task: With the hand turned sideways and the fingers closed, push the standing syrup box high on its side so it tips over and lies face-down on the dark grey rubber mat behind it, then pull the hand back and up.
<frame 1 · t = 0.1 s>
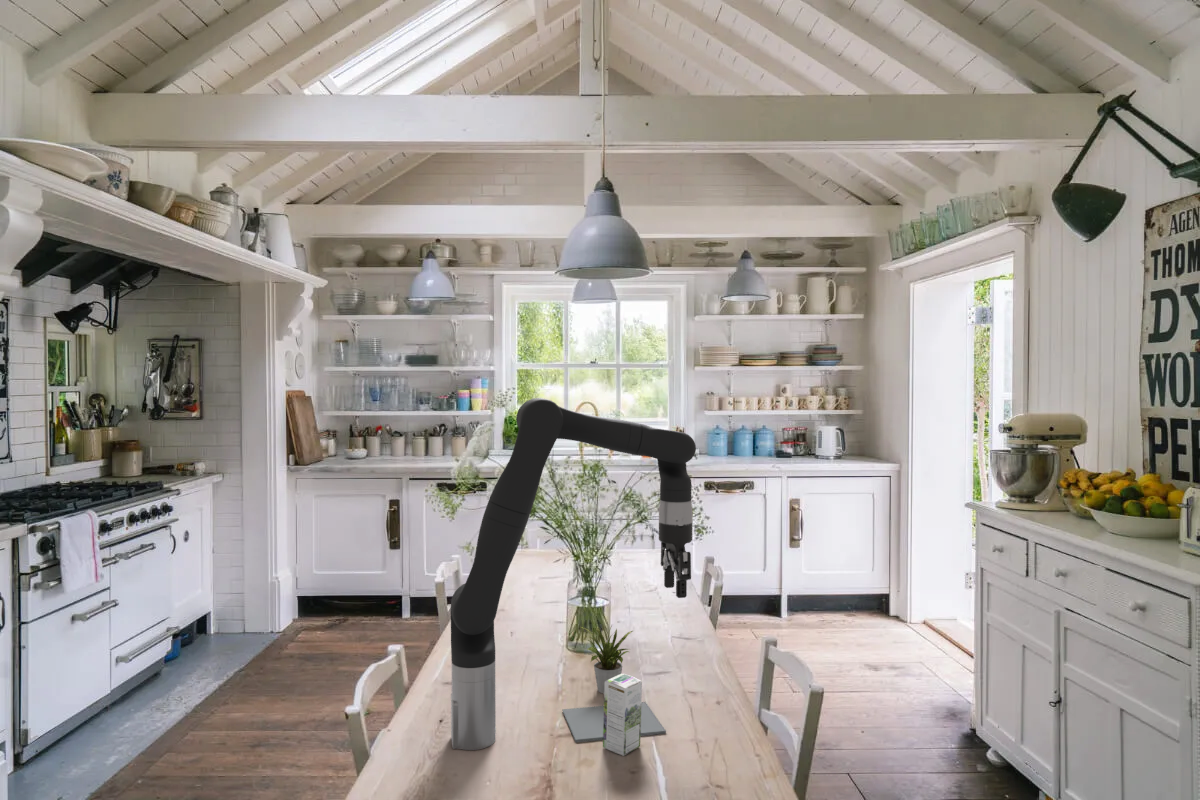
hand: (675, 592, 180), 29 cm above the table, tool pointing down, fingers open, 8 cm apart
house plant: (602, 691, 198), on the table
rubber mat: (612, 722, 180), on the table
syrup box: (622, 748, 167), on the table
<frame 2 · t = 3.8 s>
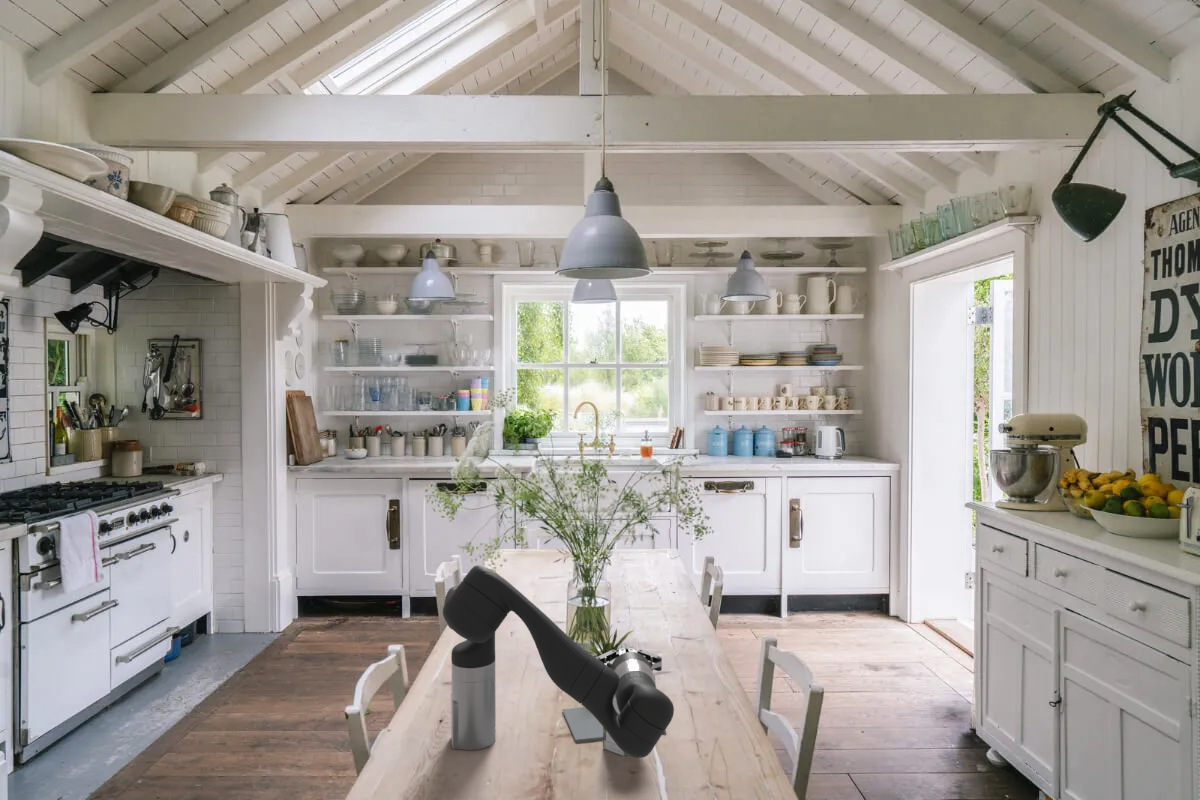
hand: (624, 648, 158), 24 cm above the table, tool horizontal, fingers closed
nothing on the table moved.
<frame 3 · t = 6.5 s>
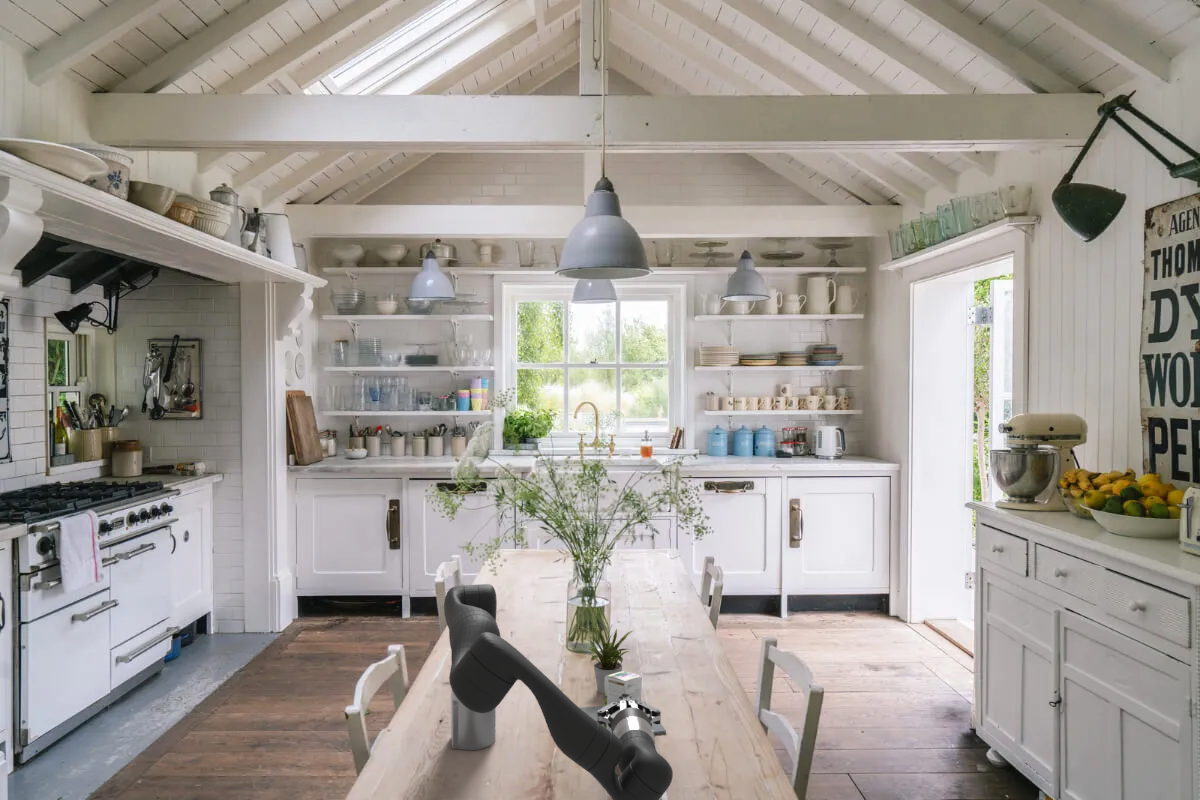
hand: (625, 698, 164), 11 cm above the table, tool horizontal, fingers closed
syrup box: (622, 747, 167), on the table, touching gripper
everything else where it was.
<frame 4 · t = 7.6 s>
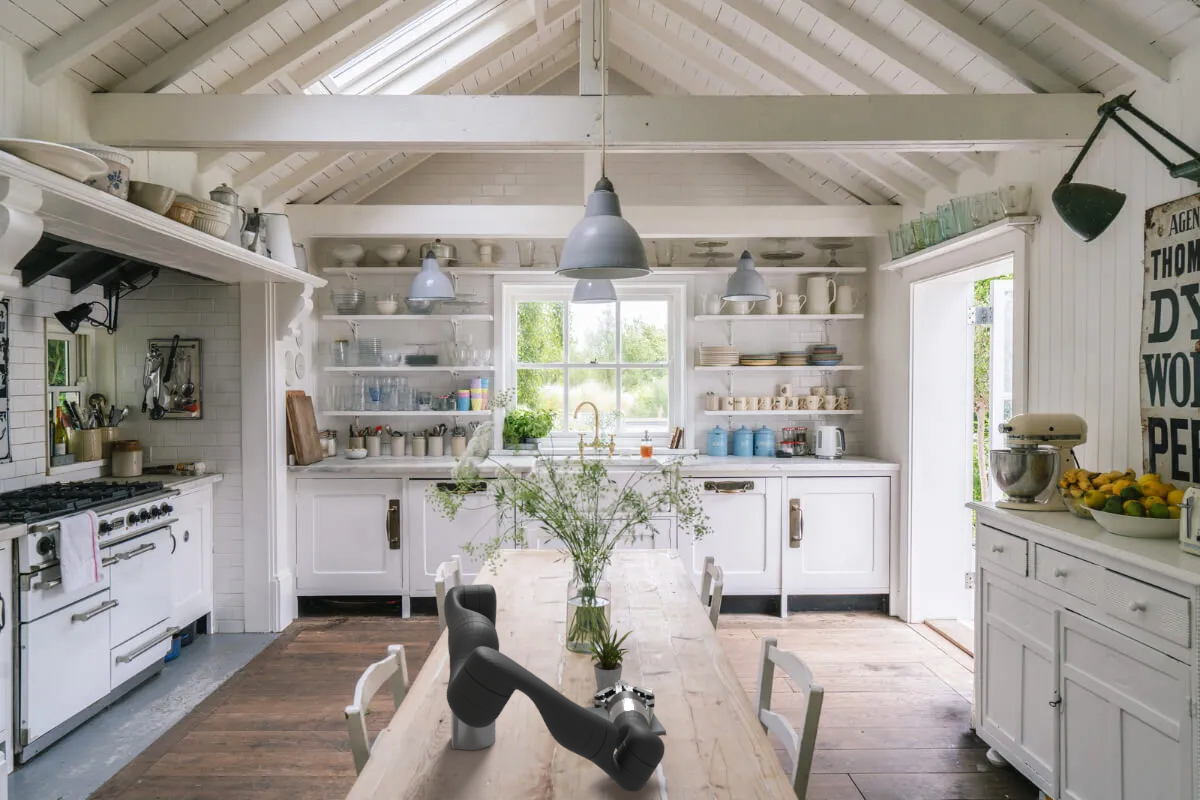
hand: (621, 684, 172), 11 cm above the table, tool horizontal, fingers closed
syrup box: (632, 726, 170), point 3 cm above the table, touching rubber mat
everything else where it was.
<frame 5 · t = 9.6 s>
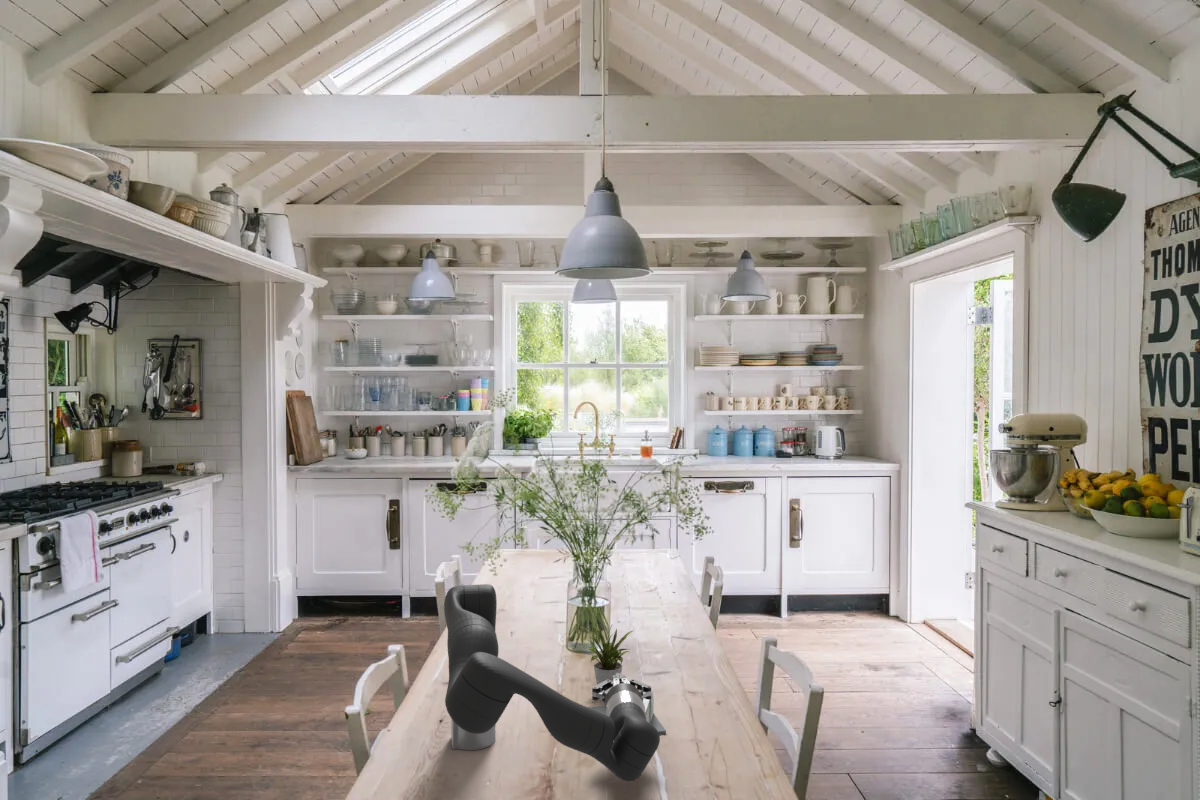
hand: (618, 677, 175), 12 cm above the table, tool horizontal, fingers closed
nothing on the table moved.
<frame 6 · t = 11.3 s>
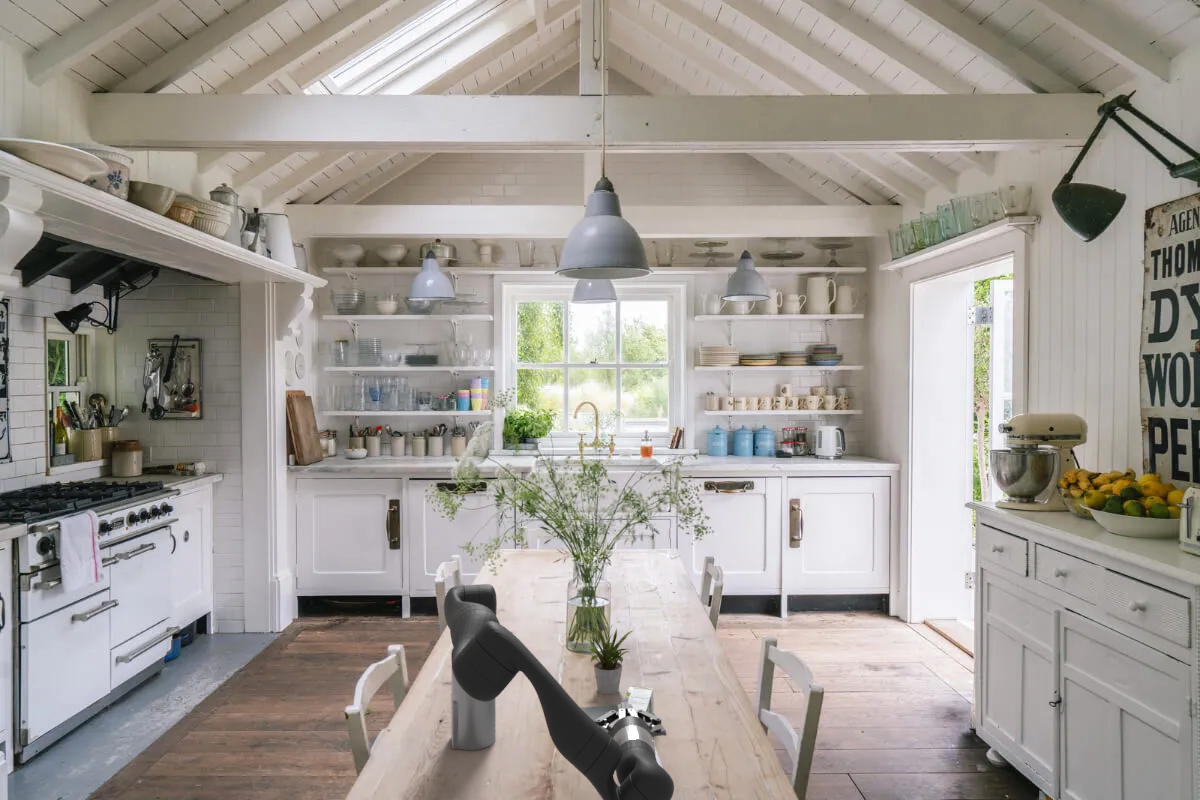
hand: (624, 706, 158), 12 cm above the table, tool horizontal, fingers closed
nothing on the table moved.
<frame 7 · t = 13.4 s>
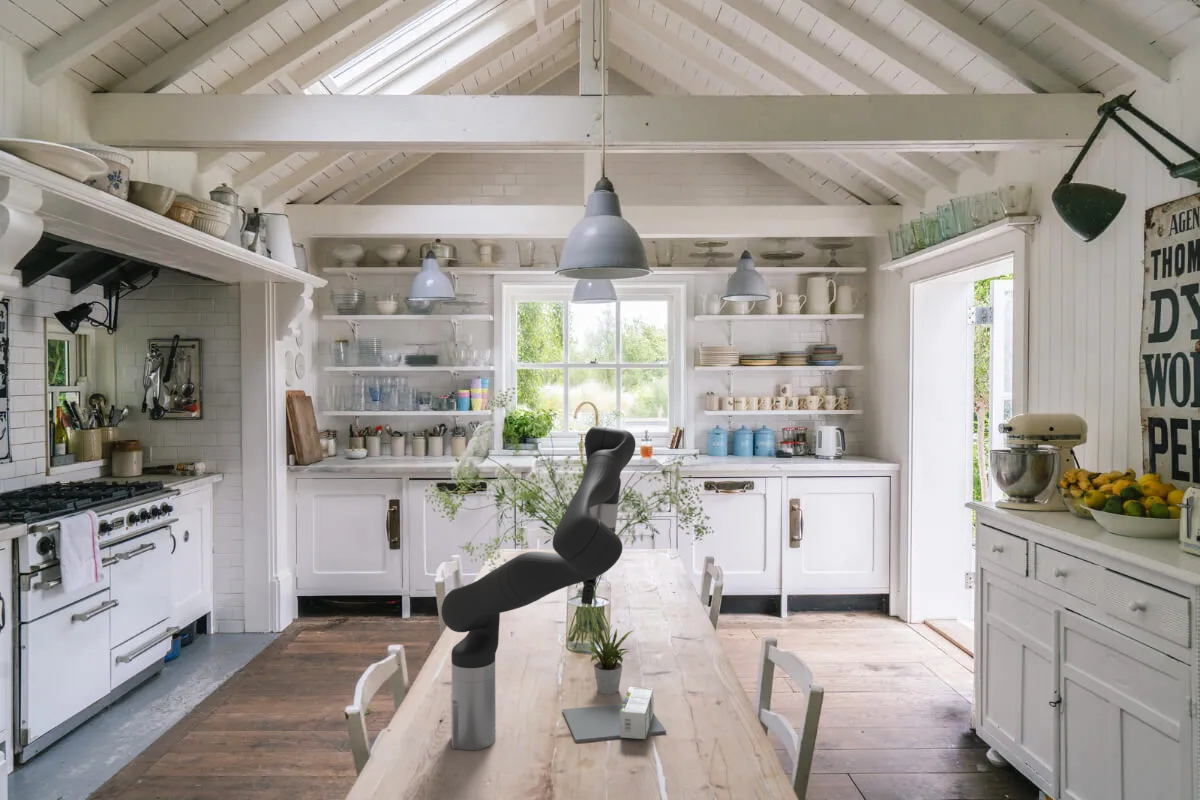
hand: (586, 602, 169), 30 cm above the table, tool pointing down, fingers closed
nothing on the table moved.
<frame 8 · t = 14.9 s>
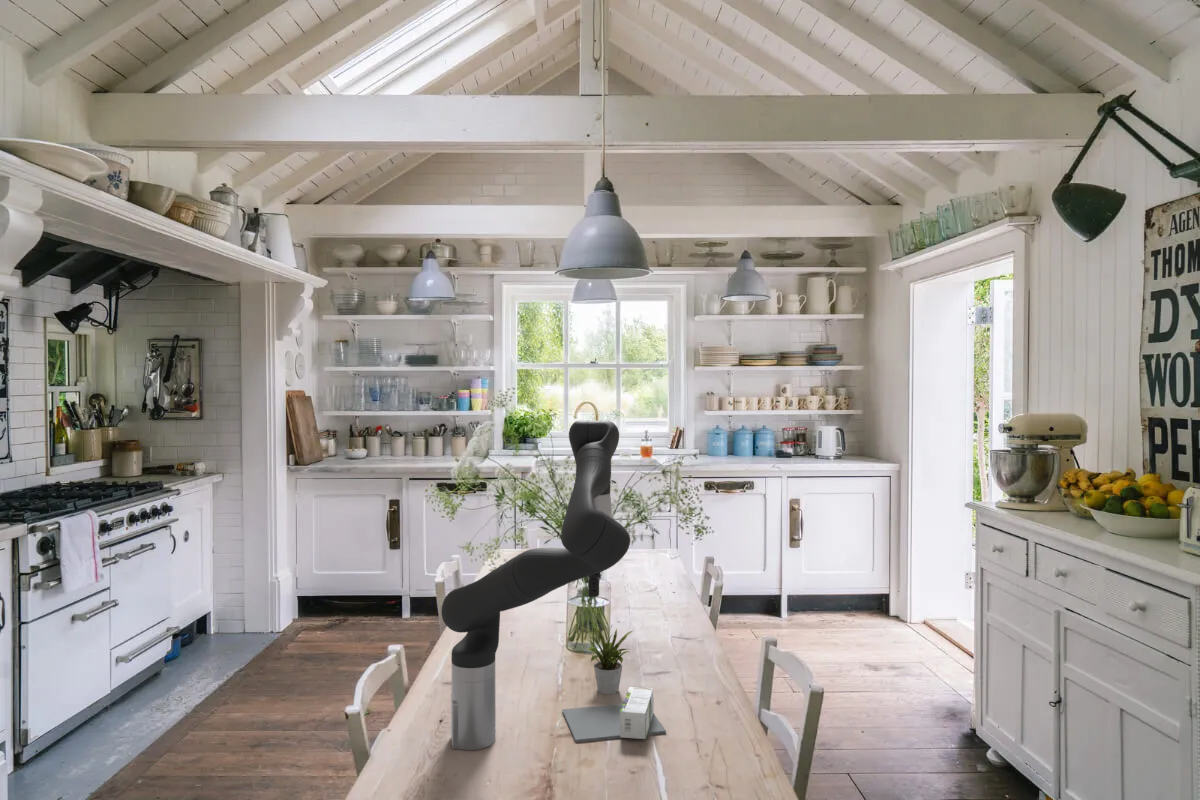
hand: (593, 595, 170), 31 cm above the table, tool pointing down, fingers closed
nothing on the table moved.
at the end: syrup box tilted 90°; syrup box touching rubber mat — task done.
